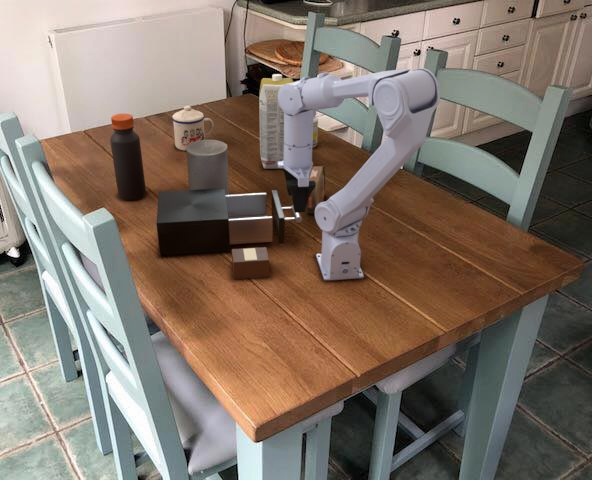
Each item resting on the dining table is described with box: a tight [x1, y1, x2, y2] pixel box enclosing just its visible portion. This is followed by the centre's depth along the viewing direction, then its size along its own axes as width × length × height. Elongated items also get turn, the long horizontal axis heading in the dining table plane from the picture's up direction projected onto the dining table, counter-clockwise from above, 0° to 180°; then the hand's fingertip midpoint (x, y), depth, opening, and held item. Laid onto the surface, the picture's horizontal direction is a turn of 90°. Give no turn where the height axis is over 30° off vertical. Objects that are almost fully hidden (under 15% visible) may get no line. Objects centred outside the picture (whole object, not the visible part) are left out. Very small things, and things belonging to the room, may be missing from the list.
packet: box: [231, 246, 270, 280], centre depth 126 cm, size 5×7×4 cm
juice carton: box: [258, 73, 294, 170], centre depth 166 cm, size 9×8×24 cm
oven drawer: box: [226, 189, 303, 245], centre depth 138 cm, size 18×13×6 cm
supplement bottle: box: [312, 115, 319, 148], centre depth 180 cm, size 6×6×10 cm
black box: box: [156, 188, 231, 258], centre depth 137 cm, size 15×15×8 cm
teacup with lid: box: [171, 105, 215, 152], centre depth 181 cm, size 12×9×12 cm
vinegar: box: [109, 113, 147, 201], centre depth 151 cm, size 7×7×20 cm
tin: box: [306, 165, 326, 214], centre depth 150 cm, size 15×3×8 cm, turn 168°
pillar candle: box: [186, 139, 230, 195], centre depth 150 cm, size 10×10×15 cm
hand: (296, 203), depth 132 cm, fingers open, 7 cm apart
